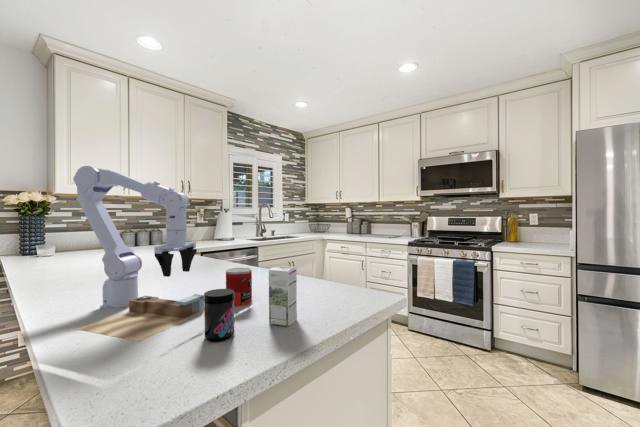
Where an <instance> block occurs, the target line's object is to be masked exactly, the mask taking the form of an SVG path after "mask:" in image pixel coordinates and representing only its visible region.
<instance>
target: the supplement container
mask: <svg viewBox="0 0 640 427" xmlns="http://www.w3.org/2000/svg"><path fill="white" fill-rule="evenodd" d="M203 295H204V312H203V313H204V319H203V320H204V338H205V339H206V340H207V341H208V342H211V343H219V342H225V341H227V340H230V339H231V338H232V337H233V336H234V335H235V306H234V290H232V289H226V288H217V289H210V290H208V291H206V292H204V294H203Z"/></svg>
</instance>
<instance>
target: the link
mask: <svg viewBox="0 0 640 427" xmlns="http://www.w3.org/2000/svg"><path fill="white" fill-rule="evenodd" d="M144 296H145V295H143V296H142V297H144ZM146 296H147V297H148V300H145V301H139V298H140V297H141V296H140V297H139V296H138V298H136V299H133V300H129V306H128V311H129V312H134V313H141V314H143V313H150V314H157V315H164V316H170V317H177V318H185V317H187V316H189V315H191V314H192V303H190V304H187V305H178V304H177V301H178V300H172V299H165V298H159V297H158V296H149V295H146Z"/></svg>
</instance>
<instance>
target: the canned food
mask: <svg viewBox="0 0 640 427" xmlns="http://www.w3.org/2000/svg"><path fill="white" fill-rule="evenodd" d="M252 276H253V275H252V268H249V267H232V268H227V269H226V270H225V289H232V290H234V307H241V306H247V305H249V304H251V303H252V302H253V293H252V292H253V289H252V288H253V279H252V278H253V277H252Z"/></svg>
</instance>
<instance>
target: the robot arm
mask: <svg viewBox="0 0 640 427" xmlns="http://www.w3.org/2000/svg"><path fill="white" fill-rule="evenodd" d="M72 179H73V182H74V184H75V185H76V193H77V202H78V204H79V205H80V207H81V210H82V211H83V213H84V215H85V217H86V219H87V221H88V223H89V225H90V227H91V228H92V230H93V232H94V234H95V236H96V237H97V239H98V242H99V243H100V245H101V247H102V248H103V251H104V254H103V256H102V258H101V261H102V263H103V265H104V266H103V267H104V273H105V275H106V276H107V277H108V278H107V279H106V280H105V281H104V283H103V284H102V305H100V306H99V308H101V309H105V308H108V307H111V308H123V307H124V308H125V307H129V300H133V299H136V298H139V287H138V286H139V284H138V283H139V282H138V280H139V277H138V276H139V272H140V270H141V269H142V266H143V260H142V259H141V257H140V256H139V255H138V254H136V253H135V251H134V249H133V248H131V247H130V246H128V245H126V244H125V242H124V241H123V239H122V236H121V235H120V233H119V231H118V228H116V225H115V224H114V221H113V220H112V218H111V215H110V214H109V212H108V211H107V210H108V209H107V208H106V207H105V205H104V202H103V200H104V198H105V196H107V194H108V193H109V192H110V191H111V190H112V189H113V188H114V187H118V186H120V187H122V188H125V189H128V190H131V191H133V192H134V191H135V192H137V193H140V196H141V197H142V199H144V200H146V201H150V202H151V203H154V204H156V205H159V206H162V207H164V209H165V212H166V213H165V227H166V228H165V230H166V231H165V233H166V236H165V237H166V238H165V239H166V243H165V244H164V245H159V246H154V249H153V250H154V258H155V259H156V261H157V262H158V264H159V266H160V269H161V272H162V275H163V277H168V278H169V277H171V275H172V262H173V258H174V257H175V254H174V253H170V252H176V251H177V252H178V251H179V254H180V258H181V269H182V272H186V273H188V272H190V269H191V266H192V262H193V260H194V257H195V255H196V253H197V251H198V250H197V242H196V241H189V242H187V239H188V238H187V208H188V207H189V204H190V199H189V197H188V195H187V194H185V193H183V192H182V191H175V189H174V188H173V187H169V188H168V187H166V186H164V185H161V183H160V182H159V181H155V180H154V181H148V182H146V183H144V182H142V181H140V180H137V179H135V178H133V177H131V176H129V175H126V174H124V173H122V172H117V171H113V170H110V169H102V168H98V167H93V166H92V165H91V166H90V165H82V166H81V167H79V168H78V169H77V171H76V172H75V174H74V177H73V178H72Z"/></svg>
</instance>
